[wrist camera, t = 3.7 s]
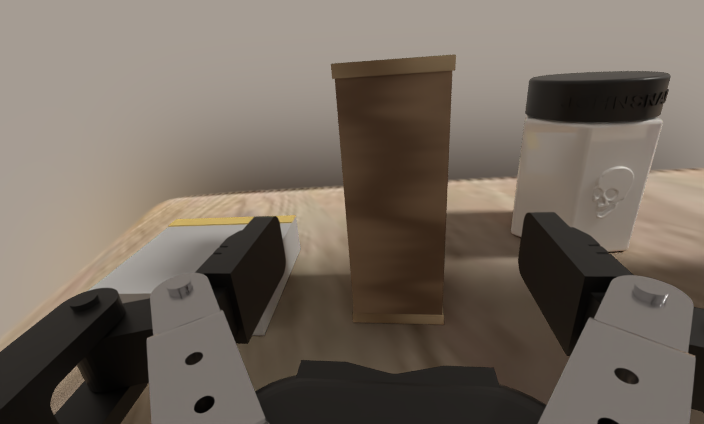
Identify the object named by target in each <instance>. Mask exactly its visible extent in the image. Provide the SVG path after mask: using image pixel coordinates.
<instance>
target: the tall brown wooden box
mask: <svg viewBox="0 0 704 424" xmlns="http://www.w3.org/2000/svg"><path fill="white" fill-rule="evenodd" d="M455 62H456V55H442V56H429V57H415V58H402V59H388V60H374V61H362V62H348V63H335V64H331V70H332V78H333V79H335V86H336V99H337V111H338V123H339V135H340V147H341V159H342V172H343V184H344V196H345V208H346V220H347V232H348V245H349V257H350V269H351V281H352V293H353V305H354V307H353V312H352V317H353V322H364V323H401V324H439V325H444V313H443V307H442V306H443V282H444V258H445V234H446V210H447V186H448V162H449V161H448V160H449V138H450V114H451V89H452V71H453V70H455Z"/></svg>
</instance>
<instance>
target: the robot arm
mask: <svg viewBox="0 0 704 424" xmlns="http://www.w3.org/2000/svg"><path fill="white" fill-rule="evenodd" d="M518 264H519V271H520V274H521V276H522V278H523V280H524V282H525V284H526V285H527V287H528V289H529V291H530V292H531V294H532V296H533V298H534V299H535V301H536V303H537V305H538V306H539V308H540V310H541V312H542V313H543V315H544V317H545V319H546V320H547V322H548V324H549V326H550V327H551V329H552V331H553V332H554V334H555V336H556V338H557V339H558V341H559V343H560V345H561V346H562V348H563V350H564V352H565V353H566V355H567V356H570V358H569V360H568V362H567V364H566V366H565V368H564V370H563V373H562V375H561V377H560V379H559V381H558V383H557V385H556V387H555V389H554V391H553V393H552V395H551V397H550V399H549V401H548V404H547V405H545V404H544V403H542V402H540V401H538V400H537V399H535V398H533V397H531V396H529V395H527V394H525V393H522V392H520V391H518V390H515V389H512V388H509V387H507V386H503V385H499V383H498V380H497V377H496V373H495V370H494V368H488V367H462V366H440V367H434V368H428V369H423V370H417V371H411V372H406V373H400V374H391V373H386V372H382V371H379V370H375V369H371V368H367V367H364V366H360V365H356V364H352V363H348V362H335V361H310V360H301V363H300V366H299V370H298V373H297V375H296V376H291V377H287V378H284V379H280V380H278V381H275V382H273V383H270V384H268V385H266V386H264V387H262V388H260V389H259V390H257V391H254V388H253V386H252V383H251V381H250V378H249V375H248V373H247V370H246V368H245V365H244V363H243V360H242V358H241V355H240V353H239V350H238V348H237V345H236V343H242V344H248V342H249V340H250V338H251V337H252V335H253V333H254V331H255V329H256V327H257V325H258V323H259V321H260V319H261V317H262V315H263V313H264V311H265V309H266V308H267V306H268V304H269V302H270V300H271V298H272V296H273V294H274V292H275V290H276V288H277V286H278V284H279V282H280V280H281V279H282V277H283V275H284V272H285V267H286V257H285V250H284V245H283V239H282V233H281V227H280V222H279V219H278V218H277V217H276V216H262V217H254V218H253V219H252V220H251V221H250V222H249V223H248V224H247V225H246V226H245V228H244V229H243V230H240V231H238V232H236V233H235V234H233V235H231V236H229V237H228V238H227V239H226V240H225V241H224V242H223V243H222V244H221V245H220V248H217V249H216V250H215V251H214V252H213V255H211V256H210V257H209V258H208V259H207V260H206V261H205V262H204V263H203V264H202V265H201V266H200V267H199V268H198V270H197V271H196V272H195V273H187V274H182V275H178V276H175V277H172V278H170V279H168V280H166V281H164V282H162V283H161V284H159V285H158V286H157V287H156V288H155V289H154V290H153V291H152V292H151V295H150V298H149V299H143V300H138V301H132V302H127V303H122V301H121V298H120V296H119V293H118V291H117V290H116V289H113V288H98V289H93V290H90V291H86V292H83V293H81V294H78V295H76V296H74V297H72V298H70V299H68V300H67V301H65V302H63V303H62V304H61V305H59V306H58V307H57V308H55V309H54V310H53V311H52V312H50V313H49V314H48V315H47V316H45V317H44V318H43V319H41V320H40V321H39V322H38V323H36V324H35V325H34V326H33V327H31V328H30V329H29V330H28V331H26V332H25V333H24V334H22V335H21V336H20V337H19V338H17V339H16V340H15V341H14V342H12V343H11V344H10V345H8V346H7V347H6V348H5V349H3V350H2V351H1V352H0V424H120V423H121V422H122V421H123V419H124V418H125V416H126V415H127V413H128V412H129V410H130V409H131V408H132V406H133V405H134V403H135V402H136V400H137V399H138V397H139V396H140V395H141V393H142V392H143V390H144V389H145V387H146V386H147V384H148V383H149V391H150V408H151V424H690V413H691V409H695V410H698V411H702V412H703V413H704V309H701V308H696V307H694V305H693V302H692V300H691V299H690V297H689V296H688V295H686V294H685V293H684V292H682V291H681V290H680V289H678V288H676V287H674V286H672V285H670V284H668V283H665V282H662V281H659V280H656V279H653V278H649V277H643V276H636V275H633V274H632V273H631V272H630V271H629V270H627V269H626V268H625V267H624V266H623V265H622V264H621V263H620V262H619V261H618V260H617V259H615V258H614V257H613V256H612V255H611V254H609V252H608V251H607V250H606V249H605V248H603V247H602V246H600V244H599V243H598V242H597V241H596V240H595V239H594V238H593V237H591V236H590V235H589V234H587V233H585V232H583V231H581V230H578V229H576V228H574V227H569V226H568V225H567V224H566V223H565V222H564V221H563V220H562V219H561V218H560V217H559V216H558V215H557V214H556V213H555V212H528V213H526V215H525V217H524V221H523V228H522V235H521V242H520V250H519V258H518ZM76 365H77V366H78V368H79V370H80V372H81V374H82V376H83V378H84V380H85V381H84V382H83V383H82V385H81V386H80V387H79V388H78V389H77V390H76V391H75V392H74V394H73V395H72V396H71V397H70V398H69V399H68V400H67V401H66V402H65V404H64V405H63V406H62V407H61V408H60V409H59V410H58V411H57V413H56V414H55V415H54V414H53V412H52V410H51V407H50V402H51V397H52V394H53V392H54V390H55V388H56V387H57V385H58V384H59V383H60V382H61V381H62V380H63V379H64V378H65V377H66V376H67V375H68V374H69V373H70V372H71V371H72V369H73V368H74V367H75V366H76Z"/></svg>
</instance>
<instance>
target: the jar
mask: <svg viewBox="0 0 704 424" xmlns="http://www.w3.org/2000/svg"><path fill="white" fill-rule="evenodd" d="M669 81H670V74H668V73H664V72H649V71H623V72H622V71H619V72H587V73H570V74H556V75H546V76H539V77H534V78H532V79H530V81H529V87H528V95H527V104H526V111H525V113H526V114H527V117H526V119H525V121H524V129H523V137H522V145H521V153H520V161H519V169H518V177H517V185H516V193H515V201H514V209H513V217H512V225H511V233H512V234H514V235H516V236H519V237H521V235H522V228H523V221H524V217H525V215H526V213H528V212H555V213H556V214H557V215H558V216H559V217H560V218H561V219H562V220H563V221H564V222H565V223H566V224H567V225H568V226H569V227H574V228H576V229H578V230H581V231H583V232H585V233H587V234H589V235H590V236H591V237H593V238H594V239H595V240H596V241H597V242H598V243H599V244H600V246H602V247H603V248H605V249H606V250H607V251H608V252H613V251H625V250H627V249H628V247H629V243H630V240H631V236H632V233H633V229H634V225H635V222H636V218H637V215H638V211H639V207H640V204H641V200H642V197H643V193H644V189H645V186H646V182H647V179H648V175H649V171H650V168H651V164H652V160H653V157H654V153H655V150H656V146H657V143H658V139H659V135H660V131H661V128H662V124H663V121H662V120H661V119H659V118H658V117H657V116H659V115H660V114H661V110H662V107H663V103H664V102H665V101H666V98H667V94H668V89H667V88H668V84H669Z"/></svg>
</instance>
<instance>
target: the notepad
mask: <svg viewBox="0 0 704 424" xmlns="http://www.w3.org/2000/svg"><path fill="white" fill-rule="evenodd" d="M261 217H262V216H261ZM276 217H277V218H278V219H279V222H280V227H281V233H282V239H283V245H284V250H285V257H286V267H285V272H284V275H283V277H282V279H281V280H280V282H279V284H278V286H277V288H276V290H275V292H274V294H273V296H272V298H271V300H270V302H269V304H268V306H267V308H266V309H265V311H264V313H263V315H262V317H261V319H260V321H259V323H258V325H257V327H256V329H255V331H254V333H253V335H265V332H266V330H267V328H268V325H269V323H270V320H271V318H272V316H273V313H274V311H275V309H276V306H277V304H278V301H279V299H280V297H281V294H282V292H283V290H284V287H285V285H286V282H287V280H288V278H289V275H290V273H291V270H292V268H293V266H294V263H295V261H296V259H297V256H298V254H299V251H300V249H301V248H300V241H299V234H298V227H297V220H296V216H295V215H291V216H276ZM253 218H254V217H231V218H201V219H176V220H175V221H174V222H172V223H171V224H170V225H169V227H168V228H166V229H165V230H164V231H163V232H161V233H160V234H159V235H158V236H156V237H155V238H154V239H153V240H151V241H150V242H149V243H148V244H146V245H145V246H144V247H142V248H141V249H140V250H139V251H137V252H136V253H135V254H134V255H132V256H131V257H130V258H129V259H127V260H126V261H125V262H123V263H122V264H121V265H120V266H118V267H117V268H116V269H115V270H113V271H112V272H111V273H110V274H108V275H107V276H106V277H105V278H103V279H102V280H101V281H99V282H98V283H97V284H96V285H94V286H93V287H92V288H91V289H89V290H88V291H90V290H93V289H98V288H113V289H116V290H117V291H118V293H119V296H120V298H121V301H122V303H127V302H132V301H138V300H143V299H149V298H150V295H151V292H152V291H153V290H154V289H155V288H156V287H157V286H158V285H159V284H161V283H162V282H164V281H166V280H168V279H170V278H172V277H175V276H178V275H182V274H187V273H195V272H196V271H197V270H198V268H199V267H200V266H201V265H202V264H203V263H204V262H205V261H206V260H207V259H208V258H209V257H210V256H211V255H213V252H214V251H215V250H216V249H217V248H220V245H221V244H222V243H223V242H224V241H225V240H226V239H227V238H228V237H229V236H231V235H233V234H235V233H236V232H238V231H240V230H243V229H244V228H245V226H246V225H247V224H248V223H249V222H250V221H251V220H252V219H253Z"/></svg>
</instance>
